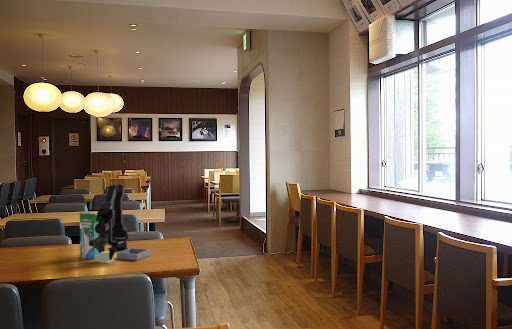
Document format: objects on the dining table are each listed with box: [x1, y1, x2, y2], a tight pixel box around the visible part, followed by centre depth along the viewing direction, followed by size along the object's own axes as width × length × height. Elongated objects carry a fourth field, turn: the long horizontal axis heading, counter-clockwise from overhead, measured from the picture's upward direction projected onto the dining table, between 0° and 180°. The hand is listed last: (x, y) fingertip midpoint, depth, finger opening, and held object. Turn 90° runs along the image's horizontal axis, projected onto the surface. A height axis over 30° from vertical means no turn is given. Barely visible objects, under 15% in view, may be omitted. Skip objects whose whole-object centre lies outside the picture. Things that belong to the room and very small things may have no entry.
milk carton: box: [79, 211, 100, 260], centre depth 258 cm, size 9×9×25 cm
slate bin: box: [116, 247, 151, 262], centre depth 257 cm, size 13×13×4 cm
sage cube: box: [99, 250, 114, 264], centre depth 248 cm, size 5×5×5 cm
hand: (106, 259), depth 248 cm, fingers closed on sage cube, 5 cm apart
